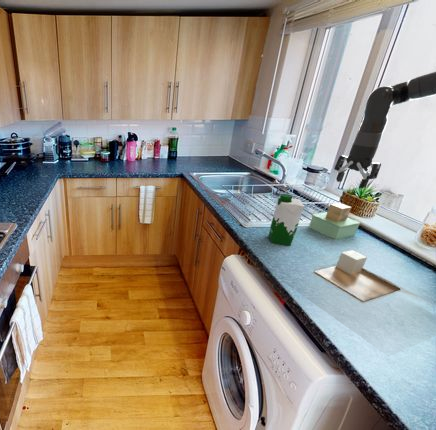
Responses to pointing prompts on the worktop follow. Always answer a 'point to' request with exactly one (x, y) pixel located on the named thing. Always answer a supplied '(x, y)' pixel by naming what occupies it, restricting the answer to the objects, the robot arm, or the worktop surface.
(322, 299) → the worktop surface
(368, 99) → the robot arm
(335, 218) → the kraft box
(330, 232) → the storage box
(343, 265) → the cream box
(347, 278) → the shiny metal sheet
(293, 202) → the milk carton
